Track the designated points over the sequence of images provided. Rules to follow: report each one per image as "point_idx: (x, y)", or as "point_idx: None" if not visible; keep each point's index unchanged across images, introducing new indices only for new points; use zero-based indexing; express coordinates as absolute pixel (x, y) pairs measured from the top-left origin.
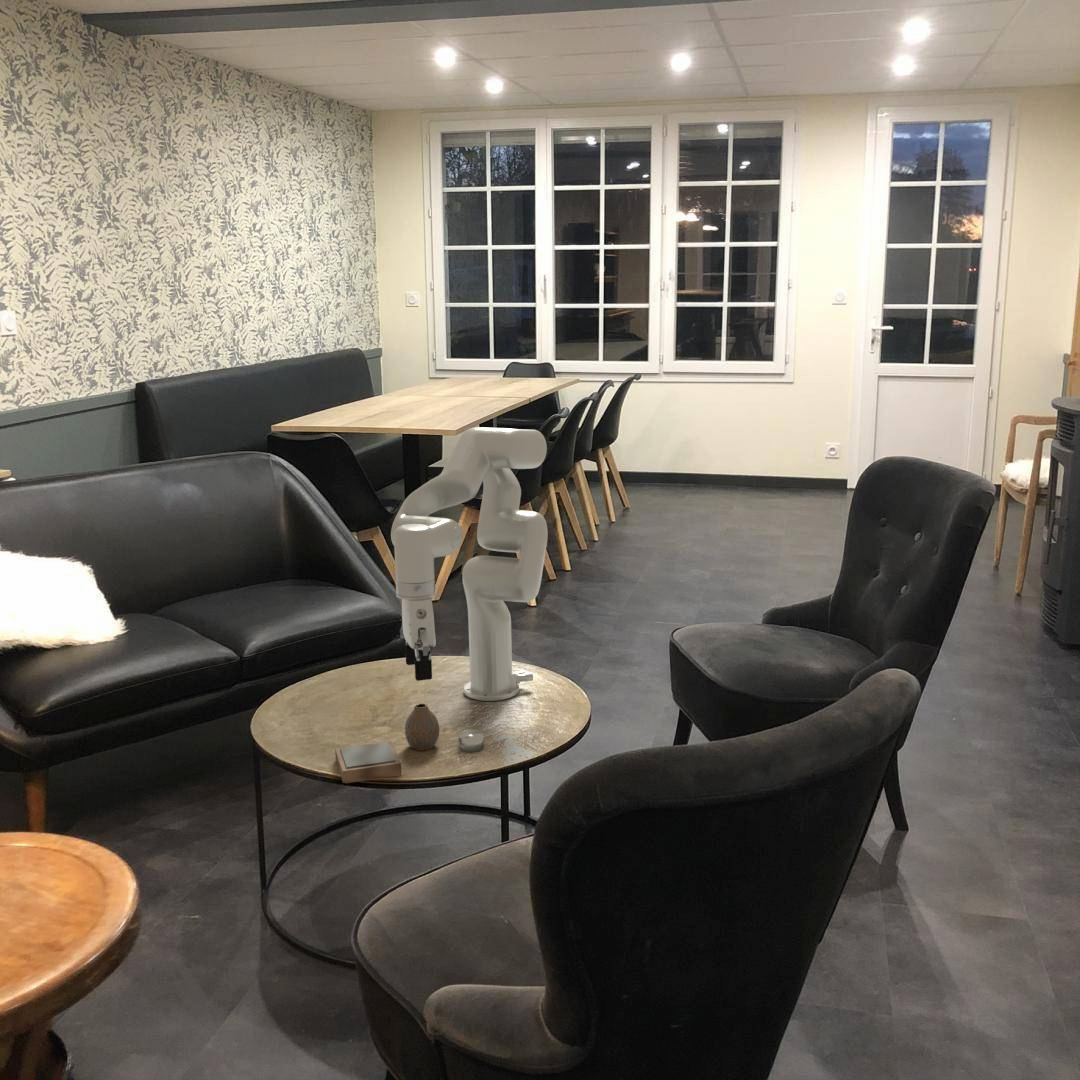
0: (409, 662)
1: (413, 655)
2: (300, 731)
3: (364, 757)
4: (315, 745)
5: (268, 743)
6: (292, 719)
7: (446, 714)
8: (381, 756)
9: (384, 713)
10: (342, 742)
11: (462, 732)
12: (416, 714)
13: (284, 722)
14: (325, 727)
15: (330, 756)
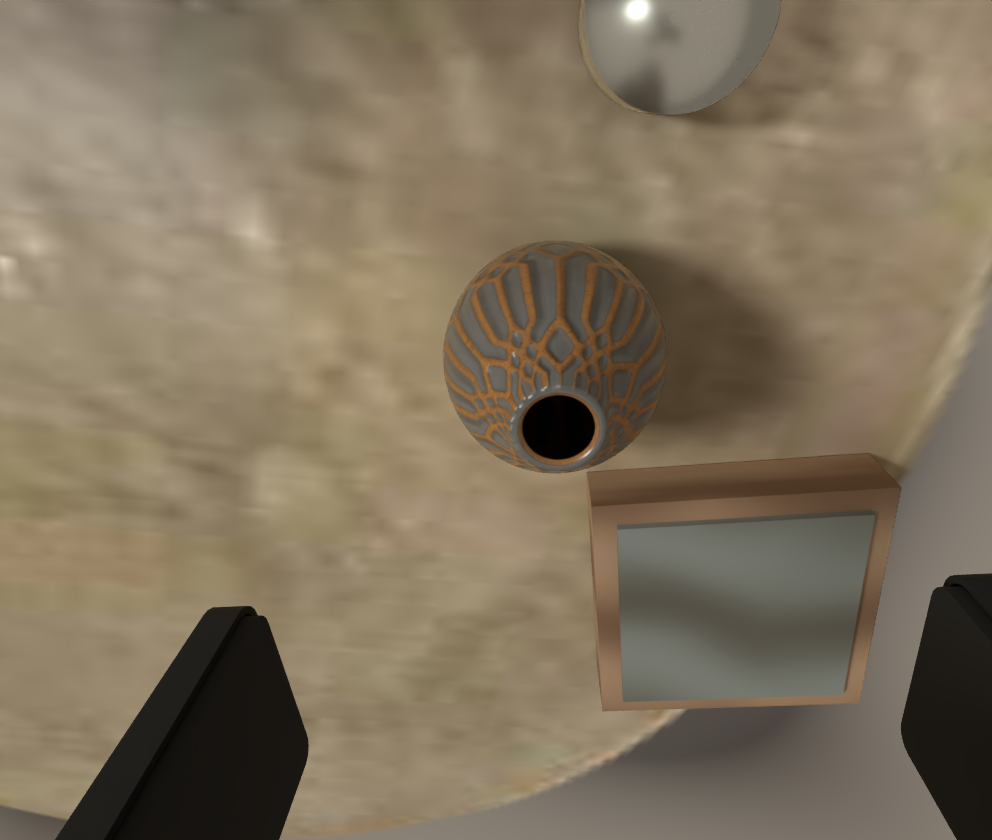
0: (291, 754)
1: (239, 809)
2: None
3: (769, 630)
4: (427, 714)
5: (379, 823)
6: None
7: (77, 123)
8: (793, 567)
9: (81, 461)
10: (416, 636)
11: (621, 72)
12: (609, 446)
13: None
14: None
15: (549, 679)
